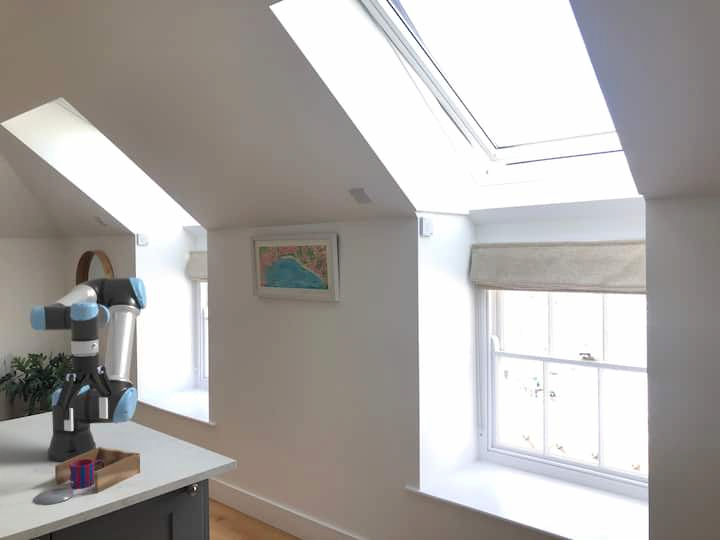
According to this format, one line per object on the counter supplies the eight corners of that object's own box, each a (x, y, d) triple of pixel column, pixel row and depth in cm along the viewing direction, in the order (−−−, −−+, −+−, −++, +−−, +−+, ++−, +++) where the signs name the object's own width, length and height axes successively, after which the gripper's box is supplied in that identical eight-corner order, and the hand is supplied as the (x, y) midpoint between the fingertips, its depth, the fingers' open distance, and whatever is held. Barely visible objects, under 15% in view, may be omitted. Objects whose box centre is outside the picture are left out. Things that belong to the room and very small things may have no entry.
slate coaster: (26, 501, 180) (26, 499, 180) (55, 488, 189) (55, 486, 189) (53, 506, 176) (53, 504, 176) (81, 493, 186) (81, 491, 185)
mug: (67, 483, 193) (67, 461, 192) (102, 476, 199) (102, 454, 198) (73, 490, 187) (72, 468, 187) (108, 483, 193) (107, 461, 193)
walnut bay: (55, 484, 192) (55, 465, 192) (99, 465, 208) (99, 447, 208) (98, 492, 186) (97, 472, 185) (140, 472, 202) (139, 453, 202)
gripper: (61, 362, 178) (63, 437, 179) (125, 348, 201) (126, 414, 202) (41, 360, 181) (43, 434, 182) (106, 346, 204) (107, 412, 205)
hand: (86, 424), depth 192 cm, fingers open, 13 cm apart
